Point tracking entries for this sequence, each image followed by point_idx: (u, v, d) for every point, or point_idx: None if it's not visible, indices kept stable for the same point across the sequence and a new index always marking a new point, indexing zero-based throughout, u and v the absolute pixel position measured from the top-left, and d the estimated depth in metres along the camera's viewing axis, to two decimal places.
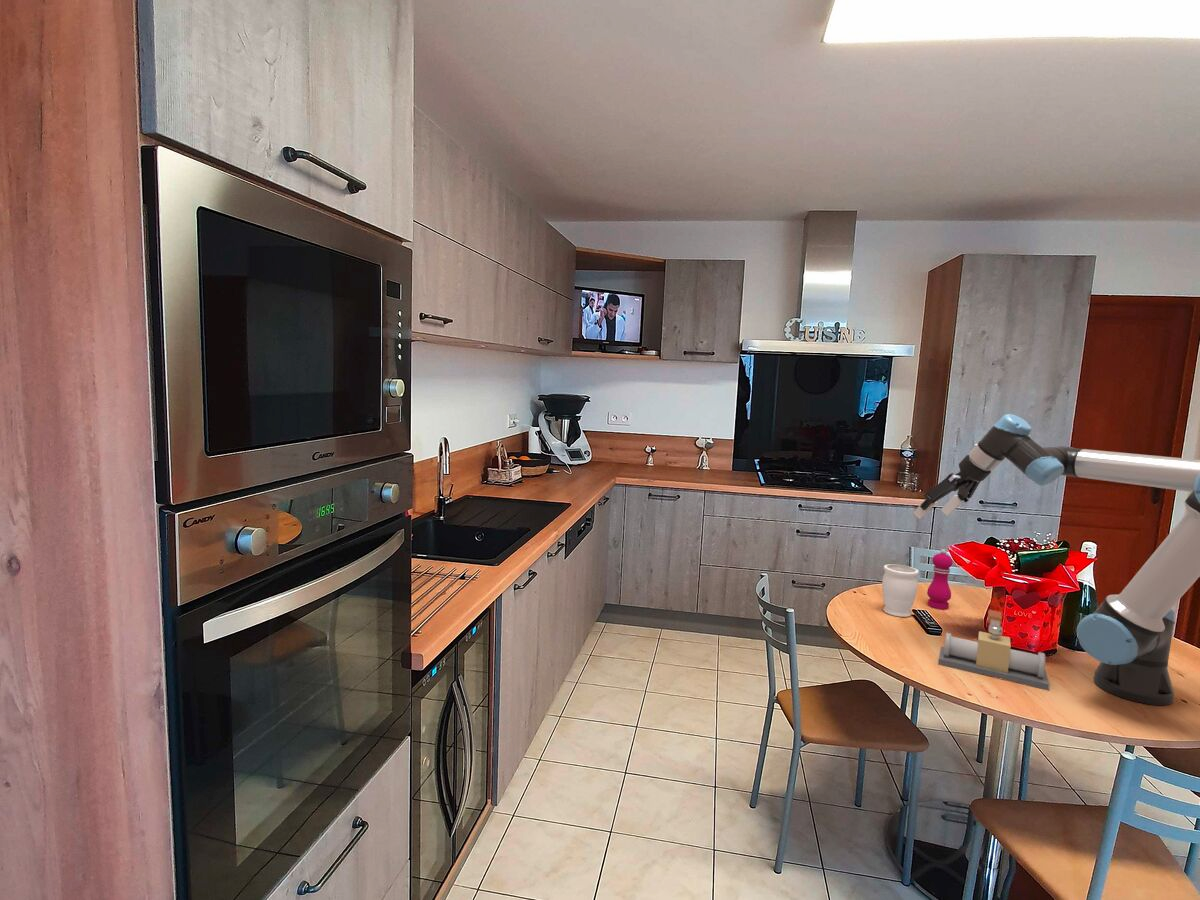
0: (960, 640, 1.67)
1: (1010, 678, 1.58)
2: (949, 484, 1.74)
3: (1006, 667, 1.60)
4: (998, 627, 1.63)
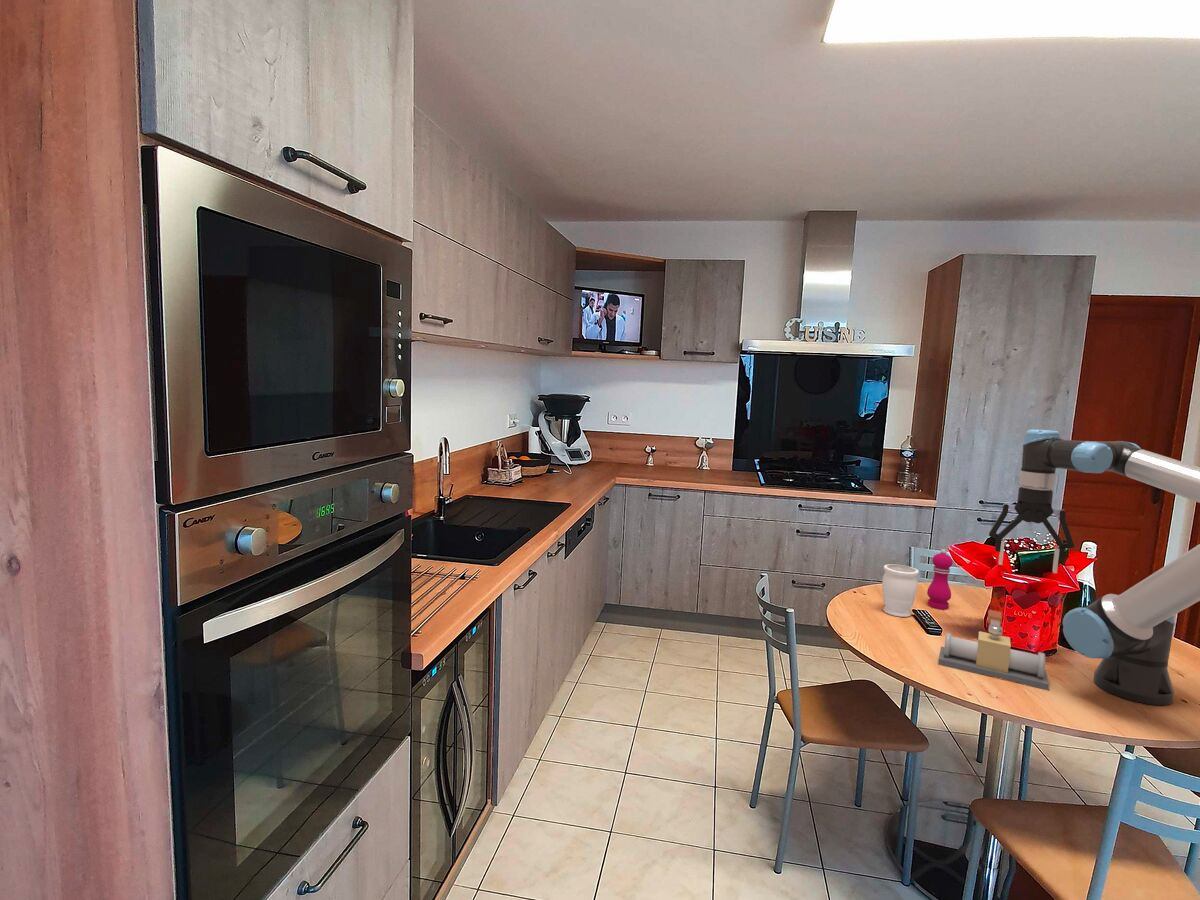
0: (960, 640, 1.67)
1: (1010, 678, 1.58)
2: (1001, 513, 1.70)
3: (1006, 667, 1.60)
4: (998, 627, 1.63)
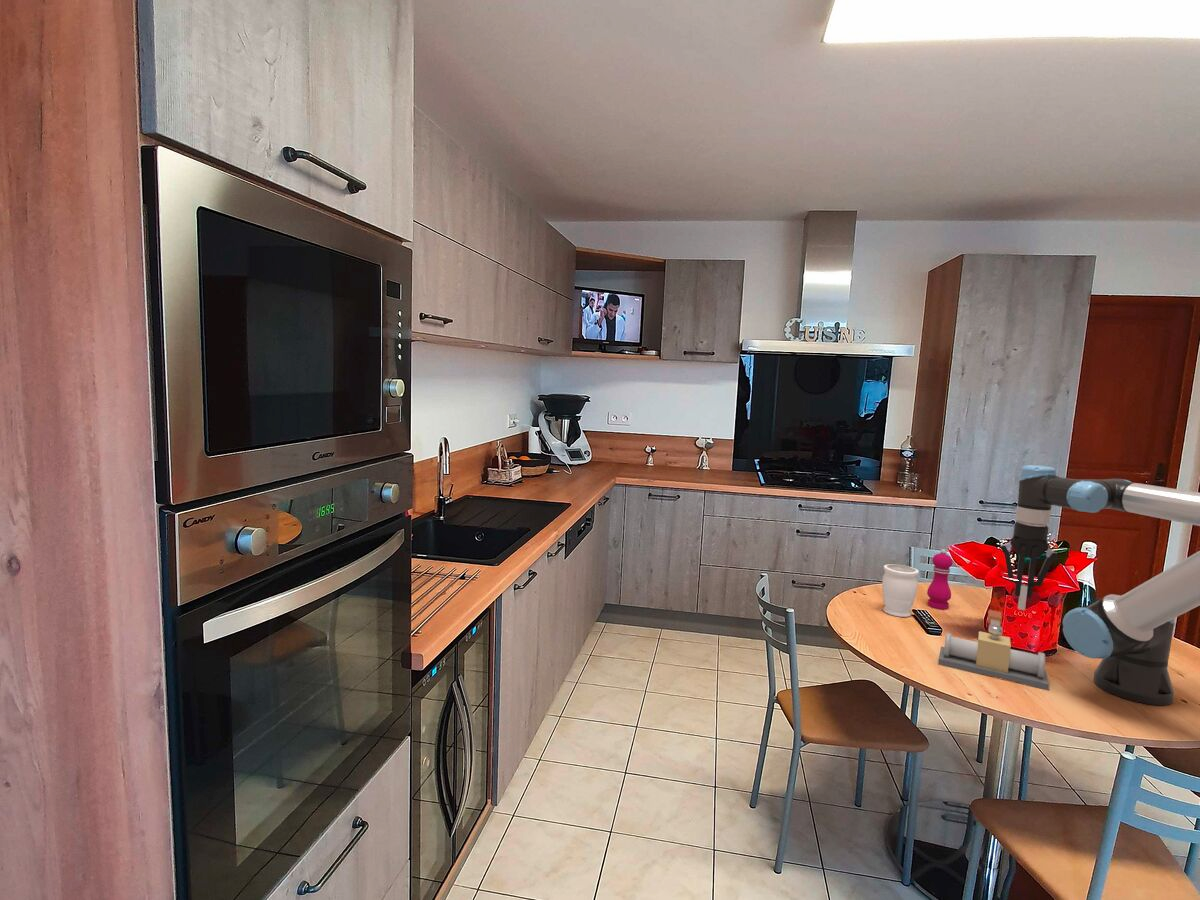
0: (960, 640, 1.67)
1: (1010, 678, 1.58)
2: None
3: (1006, 667, 1.60)
4: (998, 627, 1.63)
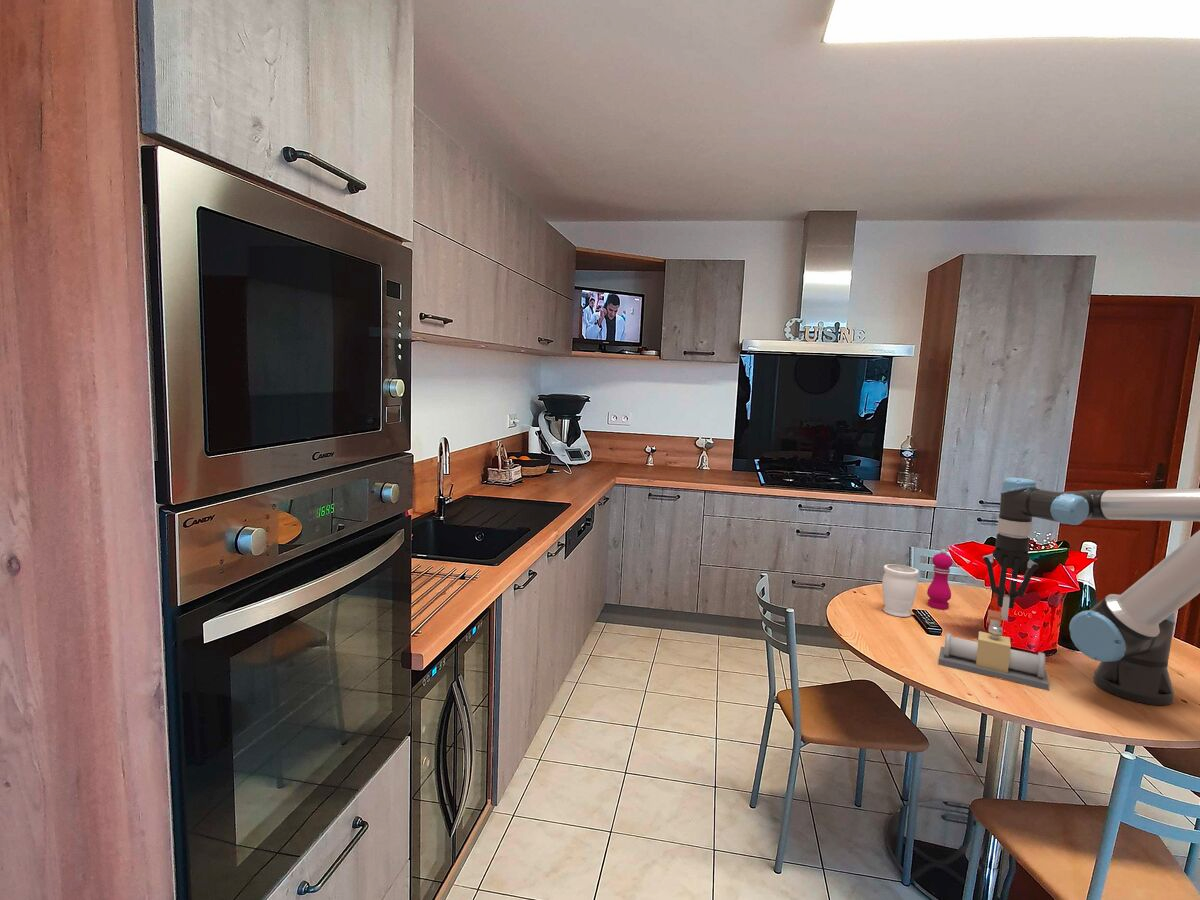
0: (960, 640, 1.67)
1: (1010, 678, 1.58)
2: (987, 566, 1.72)
3: (1006, 667, 1.60)
4: (998, 627, 1.63)
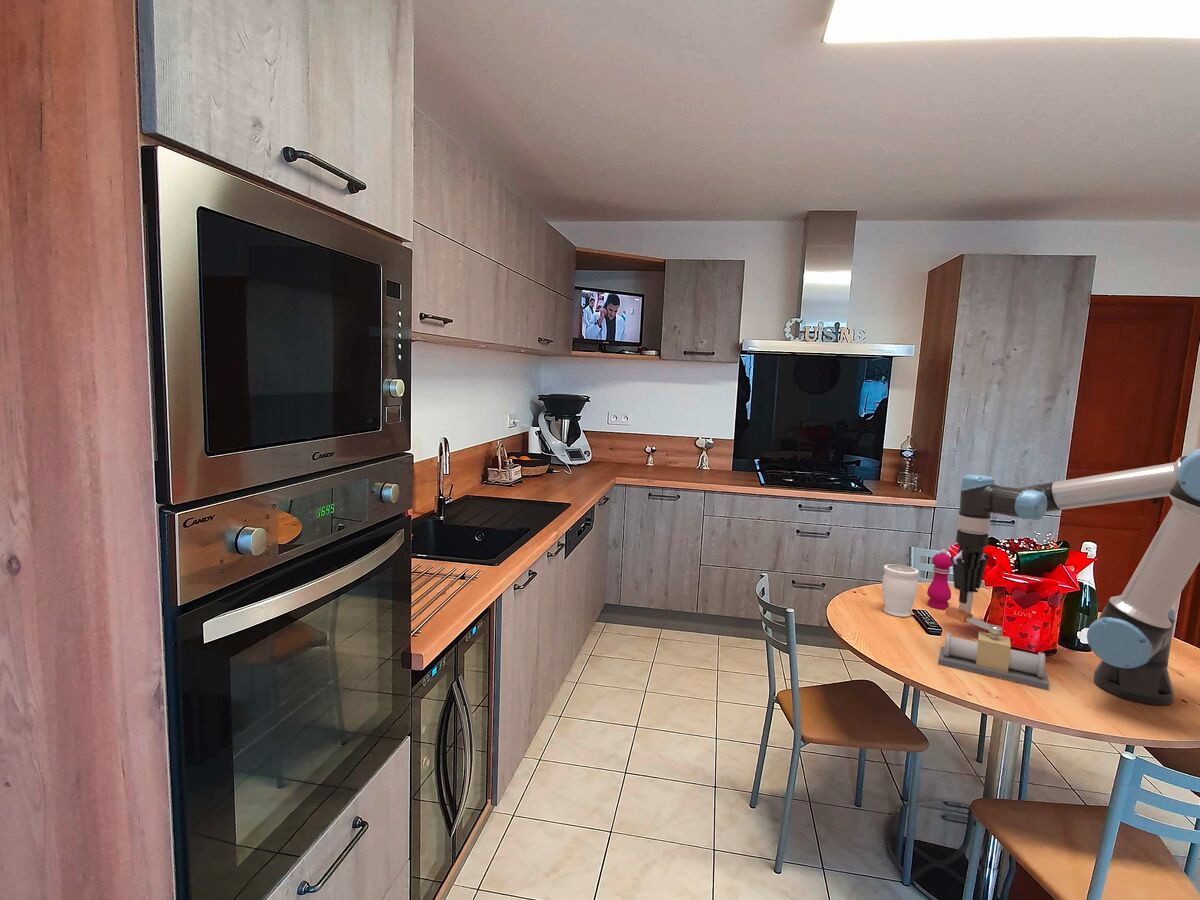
0: (960, 640, 1.67)
1: (1010, 678, 1.58)
2: (959, 567, 1.70)
3: (1006, 667, 1.60)
4: (997, 626, 1.63)
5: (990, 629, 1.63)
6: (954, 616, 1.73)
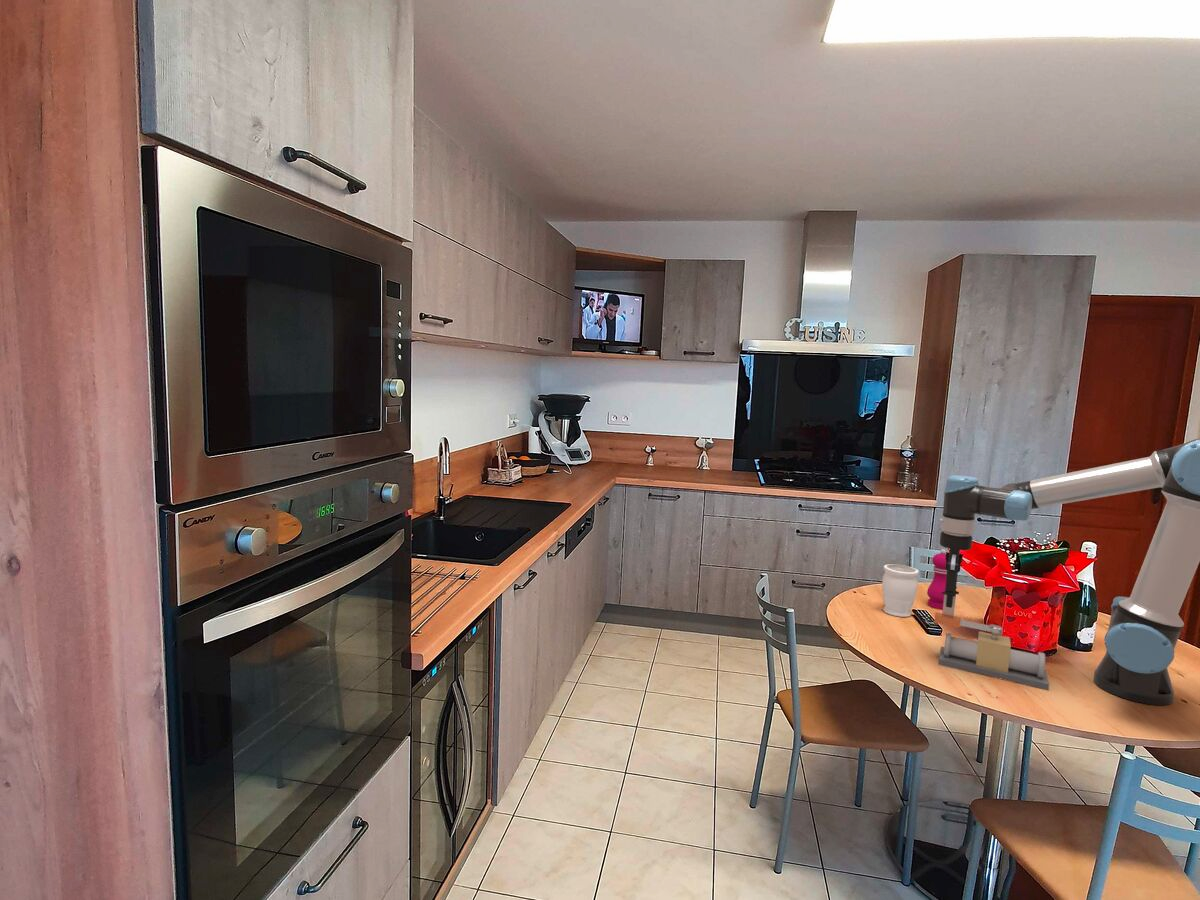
0: (960, 640, 1.67)
1: (1010, 678, 1.58)
2: (955, 572, 1.65)
3: (1006, 667, 1.60)
4: (996, 626, 1.64)
5: (994, 630, 1.62)
6: (946, 623, 1.68)
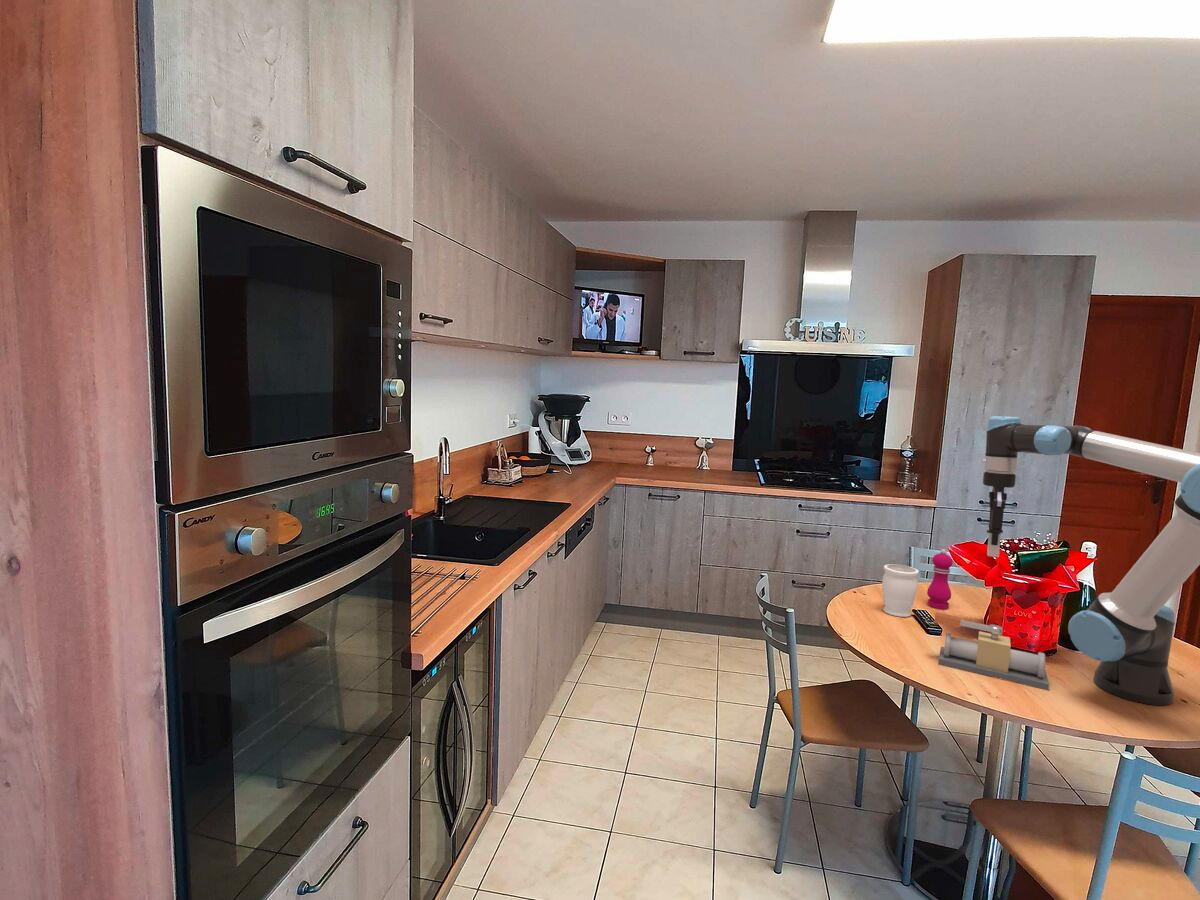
0: (960, 640, 1.67)
1: (1010, 678, 1.58)
2: (1002, 509, 1.69)
3: (1006, 667, 1.60)
4: (996, 626, 1.64)
5: (994, 630, 1.62)
6: (946, 623, 1.68)
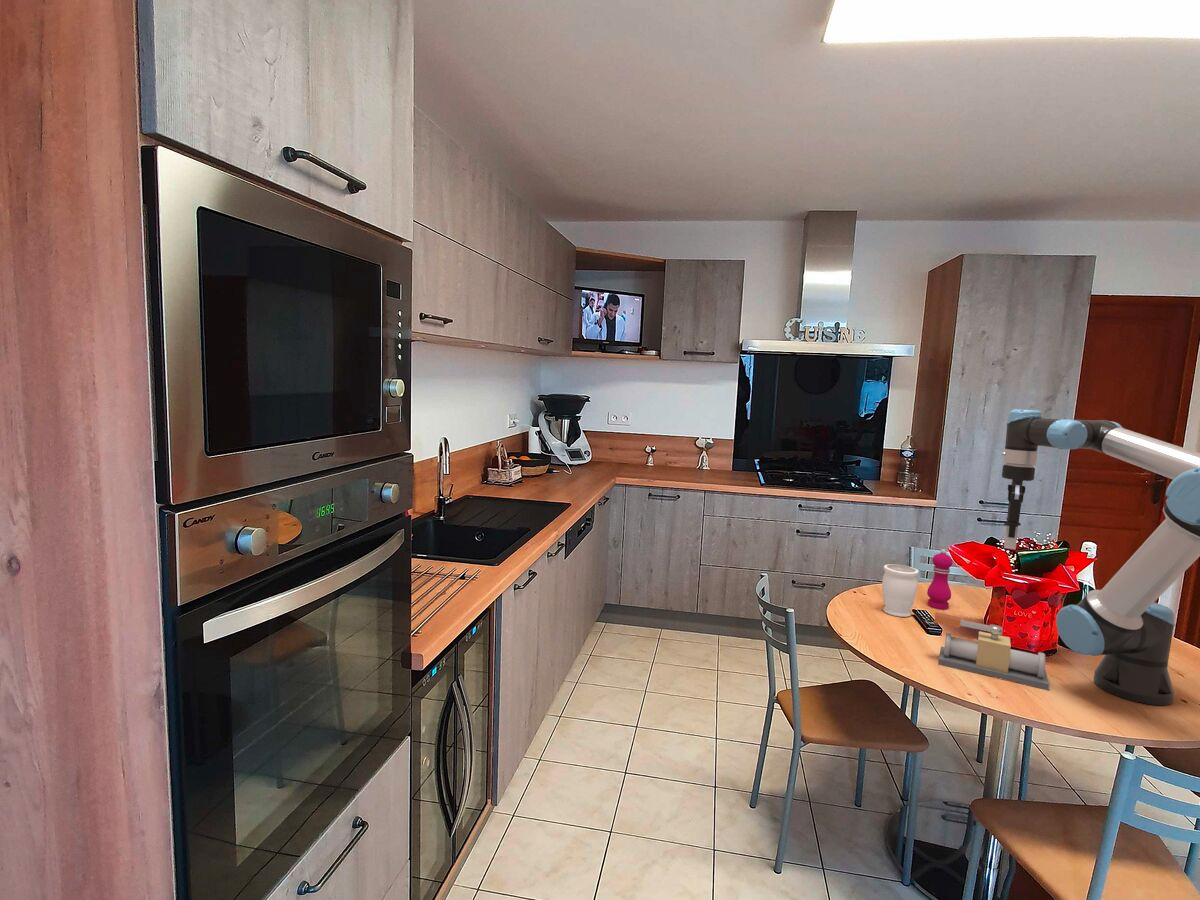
0: (960, 640, 1.67)
1: (1010, 678, 1.58)
2: (1019, 502, 1.70)
3: (1006, 667, 1.60)
4: (996, 626, 1.64)
5: (994, 630, 1.62)
6: (946, 623, 1.68)
